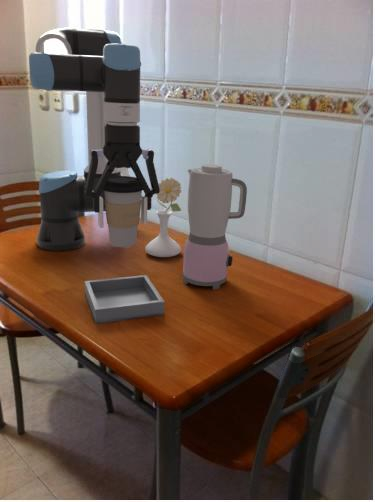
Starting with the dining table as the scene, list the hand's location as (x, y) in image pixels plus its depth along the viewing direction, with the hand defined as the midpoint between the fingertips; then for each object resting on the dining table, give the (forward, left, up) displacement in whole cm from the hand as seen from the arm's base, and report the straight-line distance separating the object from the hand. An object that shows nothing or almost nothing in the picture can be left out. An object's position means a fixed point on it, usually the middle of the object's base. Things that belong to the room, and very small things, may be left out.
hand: (122, 224), depth 105 cm
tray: (0, 0, -20) cm, 20 cm away
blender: (-7, +26, -21) cm, 34 cm away
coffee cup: (0, 0, -5) cm, 5 cm away
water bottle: (-60, +13, -21) cm, 65 cm away
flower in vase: (-30, +20, -21) cm, 42 cm away
